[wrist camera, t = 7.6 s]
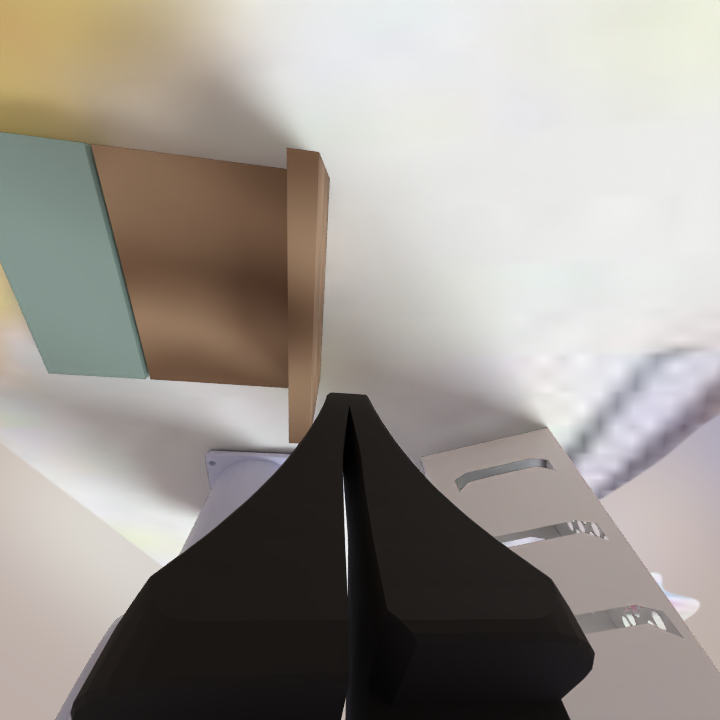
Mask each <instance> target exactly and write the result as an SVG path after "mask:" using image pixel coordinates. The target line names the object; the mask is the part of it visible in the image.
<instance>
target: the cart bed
mask: <svg viewBox="0 0 720 720" xmlns="http://www.w3.org/2000/svg"><path fill="white" fill-rule="evenodd" d="M91 147H92V150H93V154H94V158H95V162H96V166H97V170H98V174H99V178H100V182H101V186H102V190H103V194H104V198H105V202H106V206H107V210H108V213H109V217H110V221H111V225H112V229H113V233H114V237H115V241H116V245H117V249H118V253H119V257H120V261H121V265H122V269H123V273H124V276H125V280H126V284H127V288H128V292H129V296H130V300H131V304H132V308H133V312H134V316H135V320H136V324H137V328H138V332H139V335H140V339H141V343H142V347H143V351H144V355H145V359H146V363H147V367H148V371H149V375H150V379H155V380H171V381H186V382H202V383H218V384H233V385H249V386H265V387H281V388H289V443H300V442H301V440H302V439H303V438H304V436H305V435H306V433H307V432H308V431H309V429H310V428H311V426H312V424H313V418H314V412H315V406H316V400H317V393H318V387H319V381H320V367H321V346H322V325H323V305H324V284H325V263H326V243H327V222H328V201H329V181H330V178H329V176H328V173H327V171H326V168H325V166H324V163H323V161H322V158H321V156H320V153H319V152H314V151H307V150H299V149H292V148H287V169H283V168H275V167H267V166H259V165H252V164H244V163H236V162H228V161H220V160H213V159H205V158H197V157H189V156H182V155H174V154H166V153H158V152H151V151H143V150H135V149H127V148H120V147H112V146H104V145H96V144H91Z"/></svg>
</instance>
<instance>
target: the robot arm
mask: <svg viewBox="0 0 720 720" xmlns="http://www.w3.org/2000/svg"><path fill="white" fill-rule="evenodd" d="M205 460H206V465H207V471H208V476H209V482H210V487H211V492H210V494H209V496H208V498H207V500H206V502H205V504H204V506H203V508H202V510H201V512H200V514H199V516H198V518H197V520H196V522H195V524H194V526H193V528H192V530H191V532H190V534H189V536H188V538H187V540H186V542H185V544H184V546H183V548H182V550H181V552H180V554H179V556H177V557H176V558H175V559H173V560H172V561H171V562H169V563H168V564H167V565H166V566H164V567H163V568H162V569H160V570H159V571H158V572H156V573H155V574H153V575H152V576H151V577H150V578H149V579H148V581H147V582H146V583H145V585H144V586H143V588H142V589H141V591H140V592H139V593H138V595H137V597H136V598H135V600H134V601H133V602H132V604H131V605H130V607H129V608H128V610H127V611H126V613H125V614H124V615H122V616H121V617H119V618H117V619H116V620H115V621H114V623H113V624H112V625H111V627H110V628H109V629H108V631H107V632H106V634H105V635H104V637H103V638H102V640H101V642H100V643H99V645H98V646H97V648H96V650H95V651H94V653H93V654H92V656H91V658H90V659H89V661H88V663H87V664H86V666H85V668H84V670H83V671H82V673H81V675H80V677H79V678H78V680H77V681H76V683H75V685H74V687H73V688H72V690H71V692H70V694H69V695H68V698H67V699H66V701H65V703H64V705H63V706H62V708H61V710H60V712H59V714H58V715H57V717H56V719H55V720H341V717H342V712H343V708H344V703H345V699H346V719H345V720H570V717H569V715H568V713H567V711H566V709H565V706H564V704H563V702H562V700H561V699H562V698H563V697H564V696H565V695H567V694H568V693H569V692H570V691H571V690H572V689H573V688H574V687H576V686H577V685H578V684H579V683H580V682H581V681H582V680H583V679H584V678H585V677H586V676H587V675H588V674H589V673H590V671H591V670H592V668H593V663H594V657H595V652H594V650H593V649H592V647H591V645H590V643H589V641H588V640H587V638H586V636H585V634H584V632H583V631H582V629H581V627H580V625H579V623H578V622H577V620H576V618H575V616H574V614H573V612H572V611H571V609H570V607H569V605H568V604H567V602H566V601H565V599H564V598H563V596H562V594H561V593H560V591H559V590H558V588H557V587H556V585H555V583H554V582H553V580H552V579H551V578H550V577H548V576H547V575H546V574H544V573H543V572H541V571H540V570H539V569H537V568H536V567H534V566H533V565H531V564H530V563H529V562H527V561H526V560H524V559H523V558H522V557H520V556H519V555H517V554H516V553H515V552H513V551H512V550H510V549H509V548H508V547H506V546H505V545H503V544H502V543H501V542H499V541H498V540H497V539H495V538H494V537H493V536H492V535H490V534H489V533H488V532H487V531H485V530H484V529H483V528H481V527H480V526H479V525H478V524H476V523H475V522H474V521H473V520H471V519H470V518H469V517H468V516H467V515H466V514H464V513H463V512H462V511H461V510H460V509H459V508H458V507H456V506H455V505H454V504H453V503H452V502H451V501H450V500H449V499H448V498H447V497H445V496H444V495H443V494H442V493H441V492H440V491H439V490H438V489H437V488H436V487H435V486H434V485H433V484H432V483H431V482H430V481H429V480H428V479H427V478H426V477H425V476H424V475H423V474H422V473H421V472H420V471H419V470H418V468H417V467H416V466H415V465H414V464H413V463H412V462H411V460H410V459H409V458H408V457H407V455H406V454H405V453H404V452H403V450H402V449H401V448H400V447H399V445H398V444H397V443H396V441H395V440H394V439H393V437H392V436H391V434H390V433H389V431H388V430H387V428H386V427H385V425H384V424H383V422H382V421H381V419H380V418H379V416H378V414H377V413H376V411H375V409H374V407H373V406H372V404H371V402H370V400H369V398H368V397H367V396H366V395H361V394H345V393H329V394H328V395H327V397H326V400H325V403H324V405H323V407H322V409H321V411H320V413H319V415H318V416H317V418H316V420H315V421H314V423H313V424H312V426H311V428H310V429H309V431H308V432H307V433H306V435H305V436H304V438H303V439H302V440H301V442H300V443H299V444H298V446H297V447H296V448H295V450H294V451H293V452H292V453H291V454H276V453H253V452H231V451H209V452H208V453H207V454H206V456H205ZM213 461H214V462H213ZM343 477H344V491H345V504H346V517H347V530H348V595H347V576H346V555H345V530H344V498H343Z"/></svg>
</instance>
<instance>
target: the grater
mask: <svg viewBox="0 0 720 720" xmlns="http://www.w3.org/2000/svg"><path fill="white" fill-rule="evenodd" d="M531 458H533V459H545V460H547V464H546V468H542V467H538V466H535V467H531V468H526V469H522V470H517V471H513V472H508V473H504V474H499V475H495V476H491V477H487V478H483V479H479V480H475V481H471V482H468V483H467V484H466V485H465V486H464V488H463V489H462V490H461V491H460V492H459V490H458V487H457V485H456V482H455V480H456V479H458V478H459V477H460V476H462V475H463V474H465V473H468V472H472V471H477V470H481V469H486V468H490V467H495V466H499V465H504V464H508V463H513V462H517V461H522V460H526V459H531ZM421 460H422V464H423V468H424V472H425V477H426V478H427V479H428V480H429V481H430V482H431V483H432V484H433V485H434V486H435V487H436V488H437V489H438V490H439V491H440V492H441V493H442V494H443V495H444V496H445V497H447V498H448V499H449V500H450V501H451V502H452V503H453V504H454V505H455V506H456V507H458V508H459V509H460V510H461V511H462V512H463V513H464V514H466V515H467V516H468V517H469V518H470V519H471V520H473V521H474V522H475V523H476V524H478V525H479V526H480V527H481V528H483V529H484V530H485V531H487V532H488V533H489V534H490V535H492V536H493V537H494V538H495V539H497V540H498V541H499V542H501V543H503V542H508V541H513V540H518V539H523V538H528V537H536V538H543V539H545V540H542V541H537V542H532V543H527V544H522V545H517V546H512V547H508V548H509V549H510V550H512V551H513V552H515V553H516V554H517V555H519V556H520V557H522V558H523V559H524V560H526V561H527V562H529V563H530V564H531V565H533V566H534V567H536V568H537V569H539V570H540V571H541V572H543V573H544V574H546V575H547V576H548V577H550V578H551V579H552V580H553V582H554V583H555V585H556V587H557V588H558V590H559V591H560V593H561V594H562V596H563V598H564V599H565V601H566V602H567V604H568V605H569V607H570V609H571V611H572V612H573V614H574V616H575V618H576V620H577V622H578V623H579V625H580V627H581V629H582V631H583V632H584V634H585V636H586V638H587V640H588V641H589V643H590V645H591V647H592V649H593V650H594V652H595V657H594V663H593V668H592V670H591V671H590V673H589V674H588V675H587V676H586V677H585V678H584V679H583V680H582V681H581V682H580V683H579V684H578V685H577V686H576V687H574V688H573V689H572V690H571V691H570V692H569V693H568V694H567V695H565V696H564V697H563V698H562V699H561V700H562V702H563V704H564V706H565V709H566V711H567V713H568V715H569V717H570V720H720V672H719V671H718V669H717V668H716V667H715V665H714V664H713V662H712V661H711V659H710V658H709V656H708V655H707V654H706V652H705V651H704V649H703V648H702V647H701V645H700V644H699V642H698V641H697V639H696V638H695V637H694V635H693V634H692V632H691V631H690V630H689V628H688V627H687V625H686V624H685V622H684V621H683V619H682V618H681V617H680V615H679V614H678V612H677V611H676V609H675V608H674V607H673V605H672V604H671V602H670V601H669V600H668V598H667V597H666V595H665V594H664V592H663V591H662V590H661V588H660V587H659V585H658V584H657V582H656V581H655V580H654V578H653V577H652V575H651V574H650V572H649V571H648V570H647V568H646V567H645V566H644V564H643V563H642V561H641V560H640V558H639V557H638V555H637V554H636V552H635V551H634V550H633V548H632V547H631V545H630V544H629V543H628V541H627V540H626V538H625V537H624V535H623V534H622V533H621V531H620V530H619V528H618V527H617V525H616V524H615V523H614V522H613V520H612V518H611V517H610V516H609V514H608V513H607V511H606V510H605V508H604V507H603V505H602V504H601V503H600V501H599V500H598V498H597V497H596V496H595V494H594V493H593V491H592V490H591V488H590V487H589V486H588V484H587V483H586V481H585V480H584V478H583V477H582V476H581V474H580V473H579V471H578V470H577V468H576V467H575V466H574V464H573V463H572V461H571V460H570V458H569V457H568V456H567V454H566V453H565V451H564V450H563V449H562V447H561V446H560V444H559V443H558V441H557V440H556V439H555V437H554V436H553V434H552V433H551V431H550V430H549V429H548V428H545V429H540V430H536V431H532V432H527V433H523V434H519V435H514V436H510V437H506V438H501V439H497V440H493V441H488V442H484V443H480V444H475V445H471V446H467V447H462V448H458V449H454V450H449V451H445V452H441V453H436V454H432V455H428V456H423V457H421ZM553 467H554V468H555V470H556V471H554V470H553ZM570 521H571V523H572V525H573V529H574V530H573V531H572V530H571V529H570V528H569V525H568V523H567V522H570ZM573 521H574V522H573ZM577 521H580V522H581V523H582V524H583V526H584V529H585V532H582V531H581V530H580V528H579V526H578V523H577ZM582 521H583V522H586V524H584V523H583V522H582ZM591 523H595V524H596V526H597V527H598V529H599V532H600V537H598V536H597V535H596V534H595V532H594V531H593V529H592V526H591ZM576 530H579V531H580V533H577V532H576ZM590 532H592V533H593V534H594V535H595V536H593V535H591V534H590ZM605 535H606V536H607V538H608V539H609V540H606V539H604V536H605ZM630 605H635V606H636V607H637V609H638V612H639V615H640V617H639V618H638V617H637V616H635V614H634V613H633V612H632V610H631V608H630ZM638 605H639V606H643V608H640V607H639V606H638ZM625 608H627V609H628V610H629V611H630V612H631V614H632V616H633V617H634V619H635V622H636V625H635V626H633V625H632V624H631V622H630V621H629V619H628V617H627V615H626V613H625ZM651 611H655V612H656V613H657V614H658V615H659V616H660V618H661V619H662V621H663V623H664V625H665V627H666V631H665V630H663V629H660V628H659V627H658V626H657V624H656V623H655V621H654V619H653V617H652V612H651ZM591 612H593V613H591ZM622 616H624V617H625V618H626V619H627V621H628V622H629V624H630V626H629V627H625V625H624V623H623V620H622ZM648 620H650V621H651V622H652V623H653V624H654V625H655V626H653V625H651V624H649V623H648Z"/></svg>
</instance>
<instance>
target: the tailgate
mask: <svg viewBox="0 0 720 720" xmlns="http://www.w3.org/2000/svg"><path fill="white" fill-rule="evenodd" d="M0 262H1V264H2V267H3V269H4V271H5V274H6V276H7V278H8V281H9V283H10V285H11V288H12V290H13V292H14V295H15V297H16V299H17V302H18V304H19V306H20V308H21V311H22V313H23V315H24V318H25V320H26V322H27V325H28V327H29V329H30V332H31V334H32V336H33V339H34V341H35V343H36V346H37V348H38V350H39V352H40V355H41V357H42V359H43V362H44V364H45V366H46V369H47V371H48V373H50V374H68V375H85V376H103V377H121V378H138V379H146V378H147V377H148V376H150V375H149V371H148V367H147V363H146V359H145V355H144V351H143V347H142V343H141V339H140V335H139V332H138V328H137V324H136V320H135V316H134V312H133V308H132V304H131V300H130V296H129V292H128V288H127V284H126V280H125V276H124V273H123V269H122V265H121V261H120V257H119V253H118V249H117V245H116V241H115V237H114V233H113V229H112V225H111V221H110V217H109V213H108V210H107V206H106V202H105V198H104V194H103V190H102V186H101V182H100V178H99V174H98V170H97V166H96V162H95V158H94V154H93V150H92V147H91V145H89V144H86V143H81V142H73V141H65V140H58V139H50V138H42V137H35V136H27V135H19V134H12V133H4V132H0Z"/></svg>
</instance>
